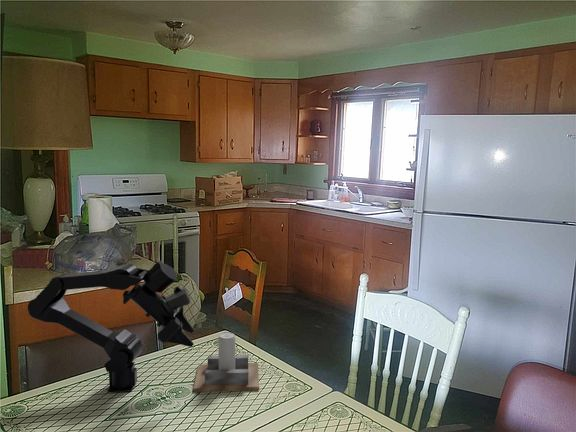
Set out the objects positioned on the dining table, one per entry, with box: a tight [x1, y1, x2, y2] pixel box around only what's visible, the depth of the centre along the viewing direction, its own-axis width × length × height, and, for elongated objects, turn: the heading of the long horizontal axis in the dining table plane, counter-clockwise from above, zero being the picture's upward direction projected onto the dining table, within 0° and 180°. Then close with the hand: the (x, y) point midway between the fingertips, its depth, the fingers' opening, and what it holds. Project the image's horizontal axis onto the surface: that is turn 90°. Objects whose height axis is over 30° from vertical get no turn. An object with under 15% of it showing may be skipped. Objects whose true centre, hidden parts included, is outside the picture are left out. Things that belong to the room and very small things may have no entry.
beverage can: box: [218, 331, 236, 370], centre depth 135 cm, size 5×5×12 cm
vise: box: [193, 354, 260, 393], centre depth 136 cm, size 18×15×4 cm
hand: (192, 338), depth 130 cm, fingers open, 9 cm apart
